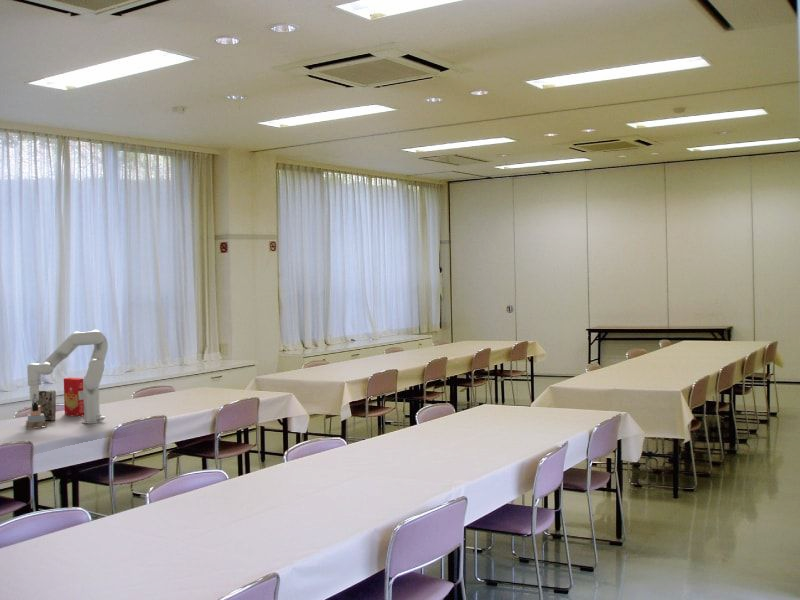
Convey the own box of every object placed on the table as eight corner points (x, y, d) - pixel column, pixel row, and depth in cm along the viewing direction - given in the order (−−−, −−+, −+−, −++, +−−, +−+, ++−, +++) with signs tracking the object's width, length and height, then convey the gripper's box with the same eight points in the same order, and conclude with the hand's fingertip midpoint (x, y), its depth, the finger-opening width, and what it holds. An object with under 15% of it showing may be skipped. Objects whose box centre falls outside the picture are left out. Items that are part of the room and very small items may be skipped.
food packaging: (64, 414, 555) (63, 378, 554) (71, 413, 560) (70, 377, 559) (78, 416, 548) (77, 379, 547) (85, 415, 552) (84, 378, 551)
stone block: (57, 419, 539) (56, 389, 538) (53, 421, 532) (52, 391, 531) (36, 419, 538) (36, 389, 538) (32, 421, 531) (31, 391, 531)
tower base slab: (45, 425, 522) (44, 418, 522) (46, 427, 512) (45, 421, 512) (26, 426, 517) (26, 420, 517) (26, 429, 507) (26, 423, 507)
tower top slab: (43, 419, 521) (42, 413, 521) (44, 421, 513) (44, 415, 513) (27, 420, 516) (27, 414, 516) (29, 422, 509) (28, 416, 508)
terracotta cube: (40, 413, 518) (40, 405, 518) (40, 415, 513) (40, 406, 513) (31, 414, 515) (30, 405, 515) (31, 415, 511) (30, 407, 510)
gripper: (27, 381, 519) (28, 408, 520) (28, 385, 503) (28, 412, 504) (40, 380, 522) (41, 407, 523) (41, 384, 507) (42, 411, 507)
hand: (35, 409), depth 513 cm, fingers open, 9 cm apart
